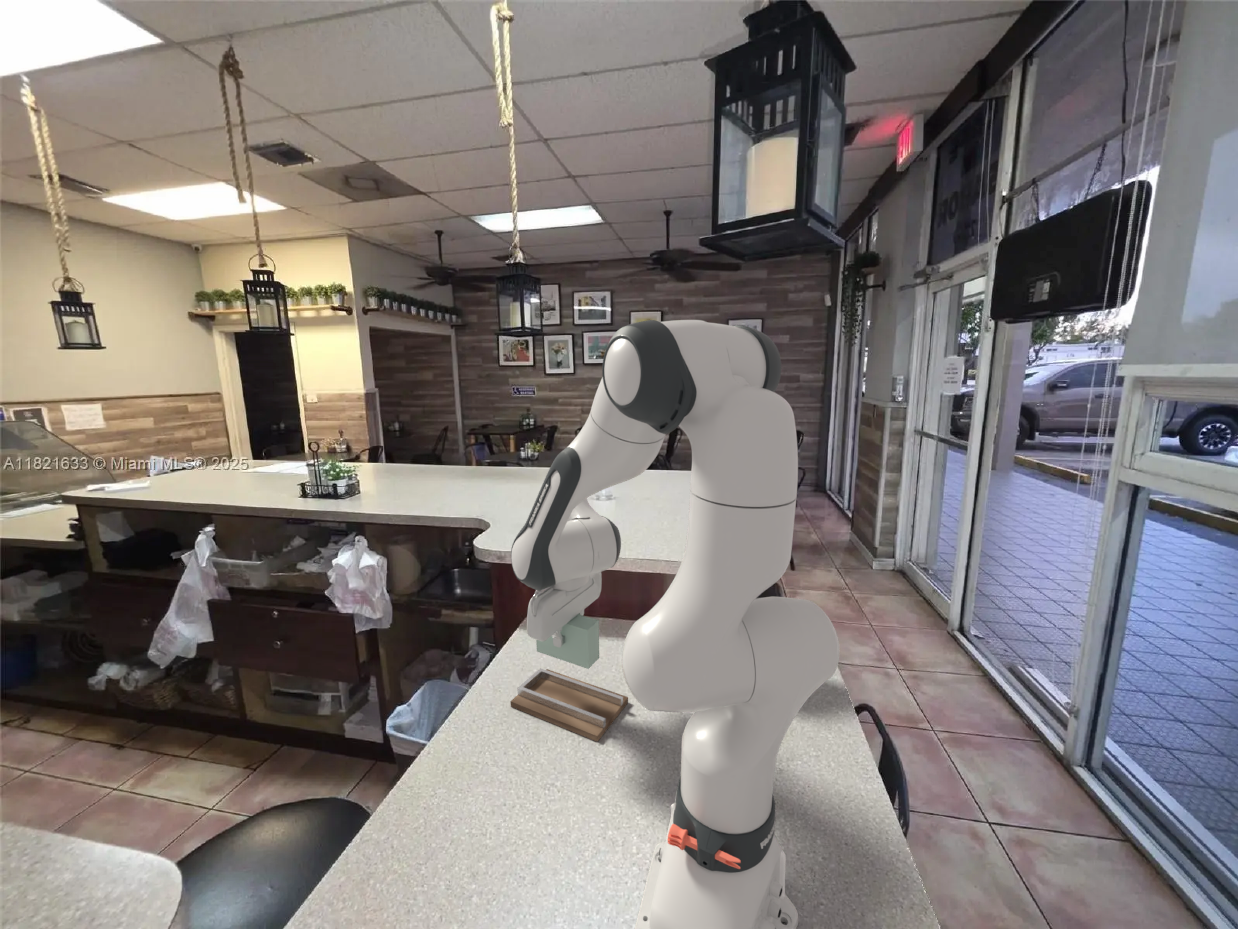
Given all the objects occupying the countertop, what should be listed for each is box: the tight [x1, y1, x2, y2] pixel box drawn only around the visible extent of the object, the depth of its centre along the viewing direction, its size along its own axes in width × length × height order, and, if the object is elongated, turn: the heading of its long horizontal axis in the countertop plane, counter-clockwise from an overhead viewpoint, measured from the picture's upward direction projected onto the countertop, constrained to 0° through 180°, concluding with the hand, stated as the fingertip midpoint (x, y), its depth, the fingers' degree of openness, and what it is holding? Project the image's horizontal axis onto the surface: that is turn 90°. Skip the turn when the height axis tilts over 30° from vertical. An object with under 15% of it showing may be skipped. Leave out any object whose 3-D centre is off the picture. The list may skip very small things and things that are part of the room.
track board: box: [510, 668, 629, 742], centre depth 98 cm, size 12×20×1 cm, turn 62°
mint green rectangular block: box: [535, 614, 600, 670], centre depth 96 cm, size 4×12×8 cm, turn 62°
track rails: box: [517, 668, 623, 728], centre depth 98 cm, size 8×20×2 cm, turn 62°
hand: (567, 638), depth 96 cm, fingers closed on mint green rectangular block, 4 cm apart
